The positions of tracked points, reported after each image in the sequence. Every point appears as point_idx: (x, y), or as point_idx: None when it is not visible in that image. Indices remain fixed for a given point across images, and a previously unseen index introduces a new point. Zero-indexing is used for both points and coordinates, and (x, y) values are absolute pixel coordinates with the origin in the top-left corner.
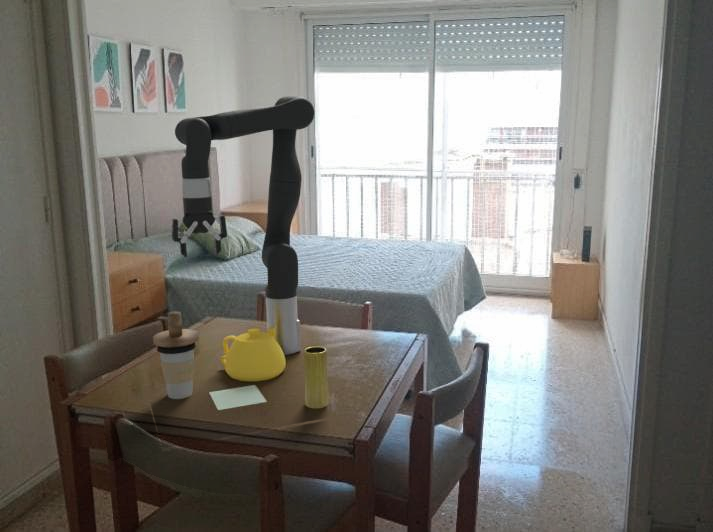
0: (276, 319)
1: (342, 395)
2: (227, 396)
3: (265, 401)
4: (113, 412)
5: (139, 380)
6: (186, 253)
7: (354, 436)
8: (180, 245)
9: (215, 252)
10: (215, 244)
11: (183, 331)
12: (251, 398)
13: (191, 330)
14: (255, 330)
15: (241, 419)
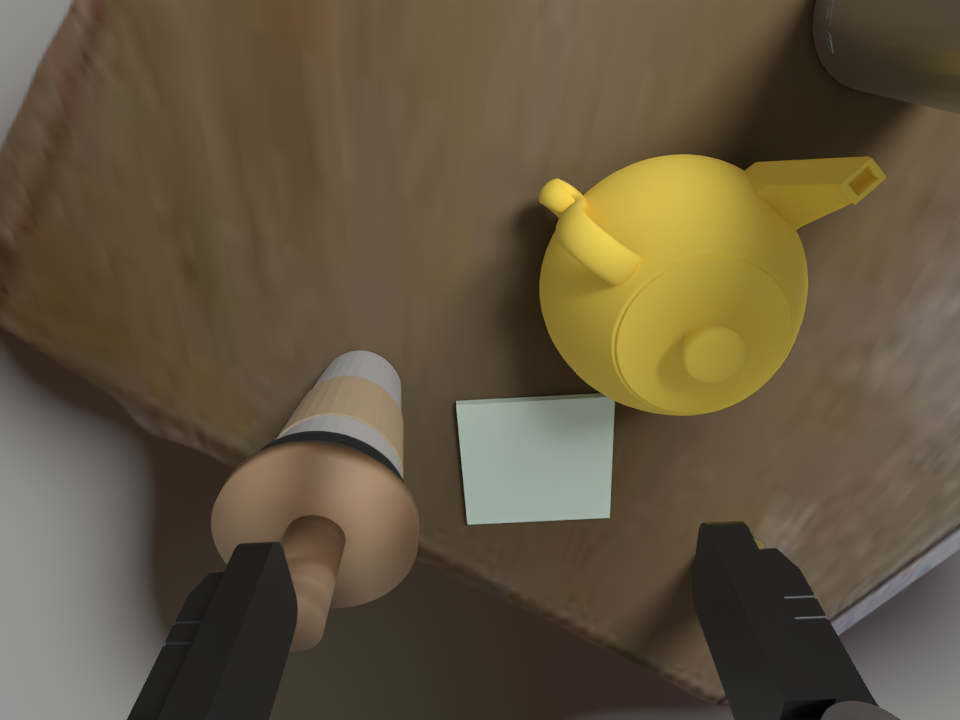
0: (950, 103)
1: (827, 526)
2: (508, 451)
3: (606, 516)
4: (162, 430)
5: (191, 175)
6: (282, 657)
7: None
8: (148, 718)
9: (702, 553)
10: (741, 698)
11: (349, 498)
12: (574, 487)
13: (388, 497)
14: (718, 373)
15: (519, 569)
